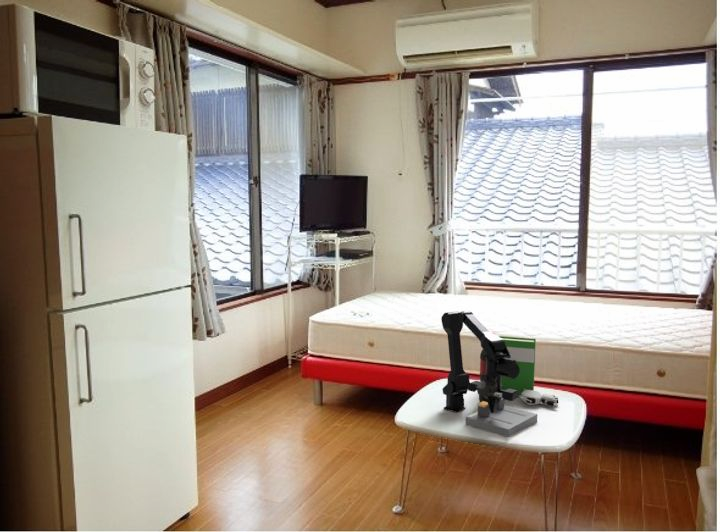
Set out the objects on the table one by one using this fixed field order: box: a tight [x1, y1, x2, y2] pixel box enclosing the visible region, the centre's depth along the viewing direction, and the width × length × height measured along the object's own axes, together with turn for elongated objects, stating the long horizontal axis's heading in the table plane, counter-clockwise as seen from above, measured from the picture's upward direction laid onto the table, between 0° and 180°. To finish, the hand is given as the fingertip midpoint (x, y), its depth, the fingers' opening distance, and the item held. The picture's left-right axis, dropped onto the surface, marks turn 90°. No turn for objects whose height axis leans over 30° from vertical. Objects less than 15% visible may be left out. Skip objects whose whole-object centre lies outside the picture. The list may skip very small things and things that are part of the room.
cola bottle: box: [478, 332, 500, 403], centre depth 249 cm, size 8×8×30 cm
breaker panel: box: [464, 405, 538, 438], centre depth 228 cm, size 18×22×3 cm
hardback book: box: [498, 335, 537, 396], centre depth 266 cm, size 18×7×24 cm, turn 71°
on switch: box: [496, 398, 505, 410], centre depth 235 cm, size 3×4×4 cm
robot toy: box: [520, 389, 559, 407], centre depth 251 cm, size 12×4×15 cm
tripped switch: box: [477, 401, 490, 417], centre depth 227 cm, size 3×4×4 cm
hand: (492, 412), depth 225 cm, fingers closed
